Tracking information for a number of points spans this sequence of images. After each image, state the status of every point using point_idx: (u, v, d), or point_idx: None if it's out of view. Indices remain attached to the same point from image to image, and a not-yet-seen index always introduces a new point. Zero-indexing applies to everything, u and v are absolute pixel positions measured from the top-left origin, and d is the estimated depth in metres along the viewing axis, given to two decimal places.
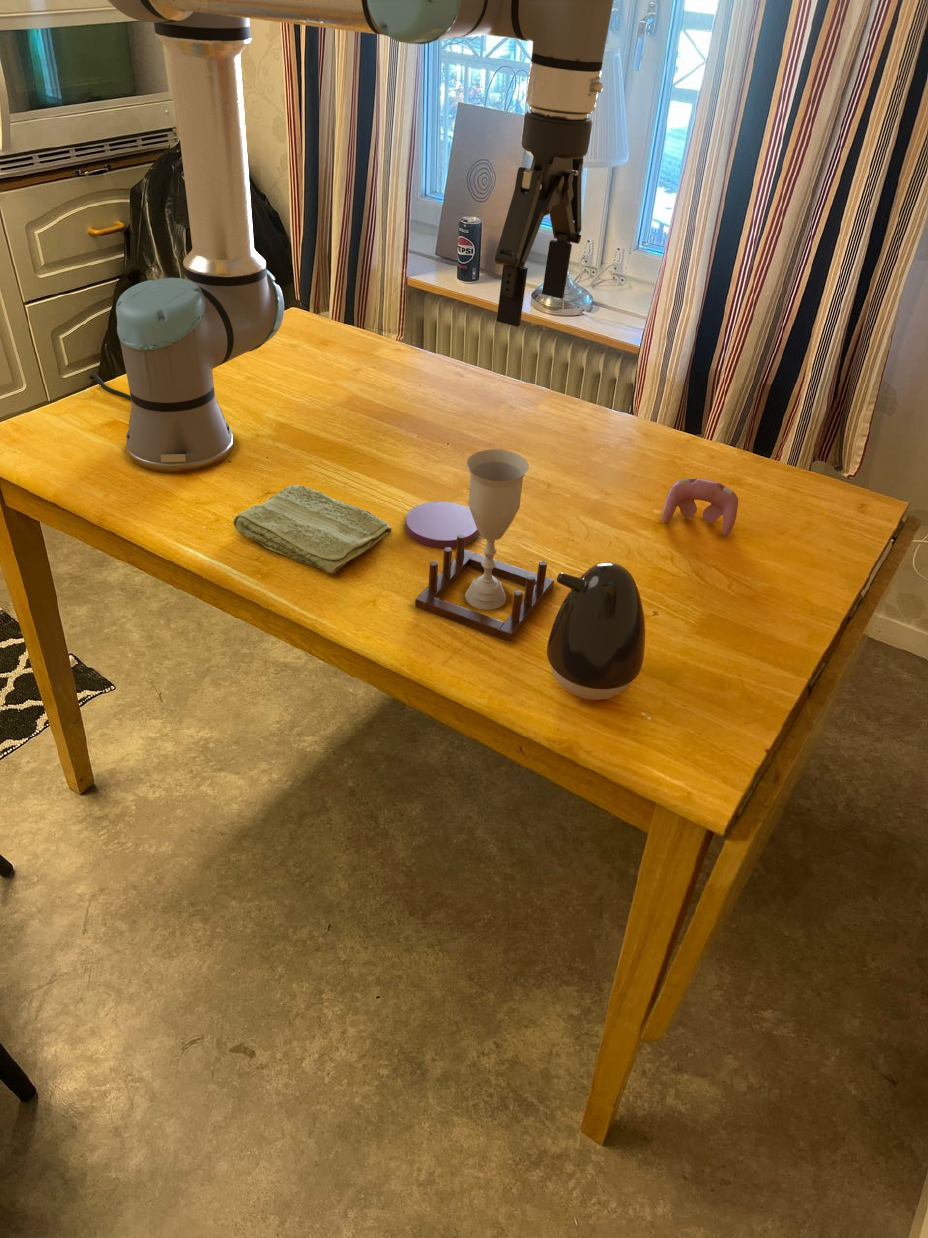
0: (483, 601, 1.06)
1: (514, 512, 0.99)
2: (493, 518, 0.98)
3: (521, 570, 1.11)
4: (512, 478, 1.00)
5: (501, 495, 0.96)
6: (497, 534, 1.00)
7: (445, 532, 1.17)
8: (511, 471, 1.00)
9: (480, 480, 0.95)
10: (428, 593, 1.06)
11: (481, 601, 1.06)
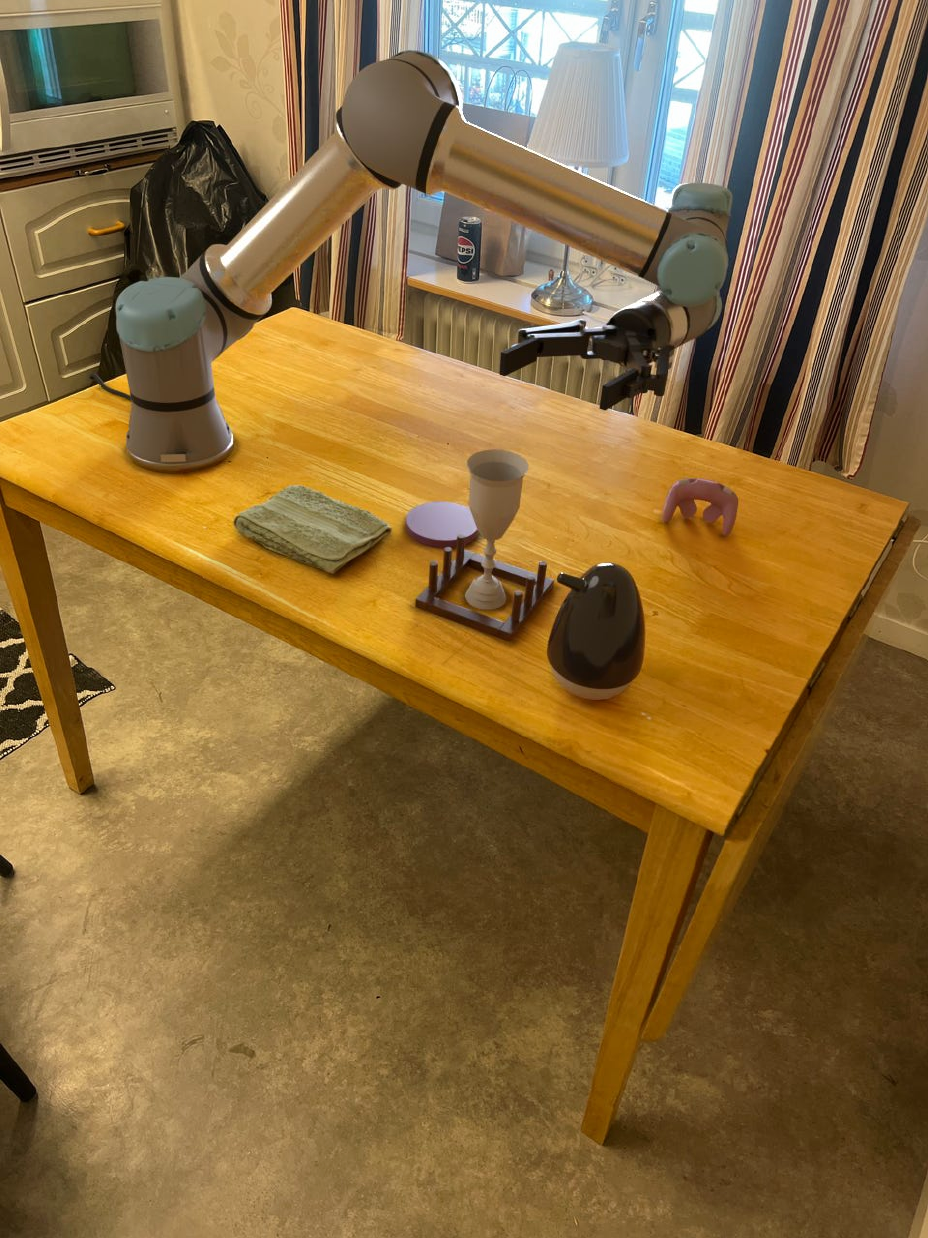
0: (483, 601, 1.06)
1: (514, 512, 0.99)
2: (493, 518, 0.98)
3: (521, 570, 1.11)
4: (512, 478, 1.00)
5: (501, 495, 0.96)
6: (497, 534, 1.00)
7: (445, 532, 1.17)
8: (511, 470, 1.00)
9: (480, 480, 0.95)
10: (428, 593, 1.06)
11: (481, 601, 1.06)
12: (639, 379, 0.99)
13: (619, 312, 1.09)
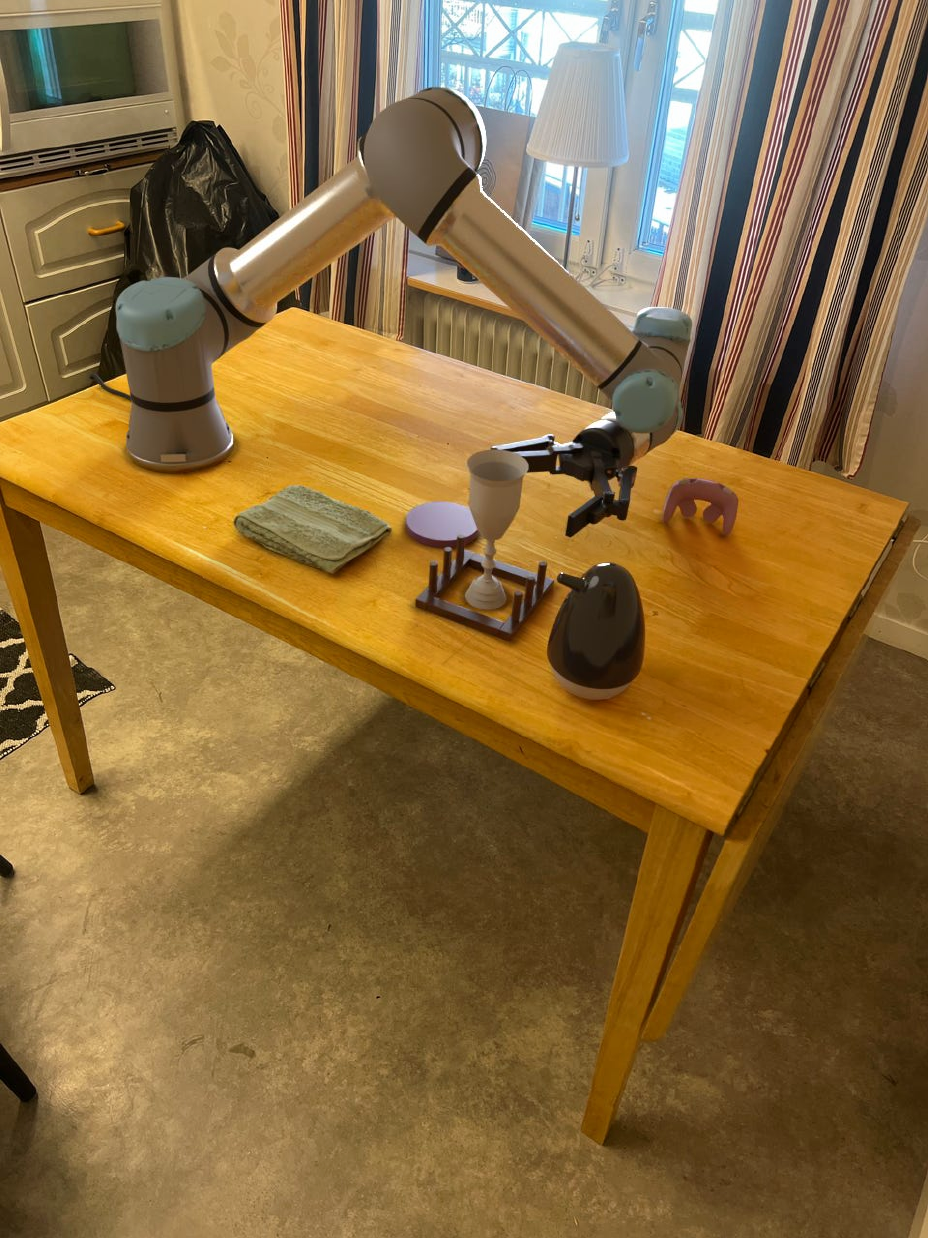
0: (483, 601, 1.06)
1: (514, 512, 0.99)
2: (493, 518, 0.98)
3: (521, 570, 1.11)
4: (512, 478, 1.00)
5: (501, 495, 0.96)
6: (497, 534, 1.00)
7: (445, 532, 1.17)
8: (511, 471, 1.00)
9: (480, 480, 0.95)
10: (428, 593, 1.06)
11: (481, 601, 1.06)
12: (603, 506, 1.05)
13: (585, 430, 1.16)
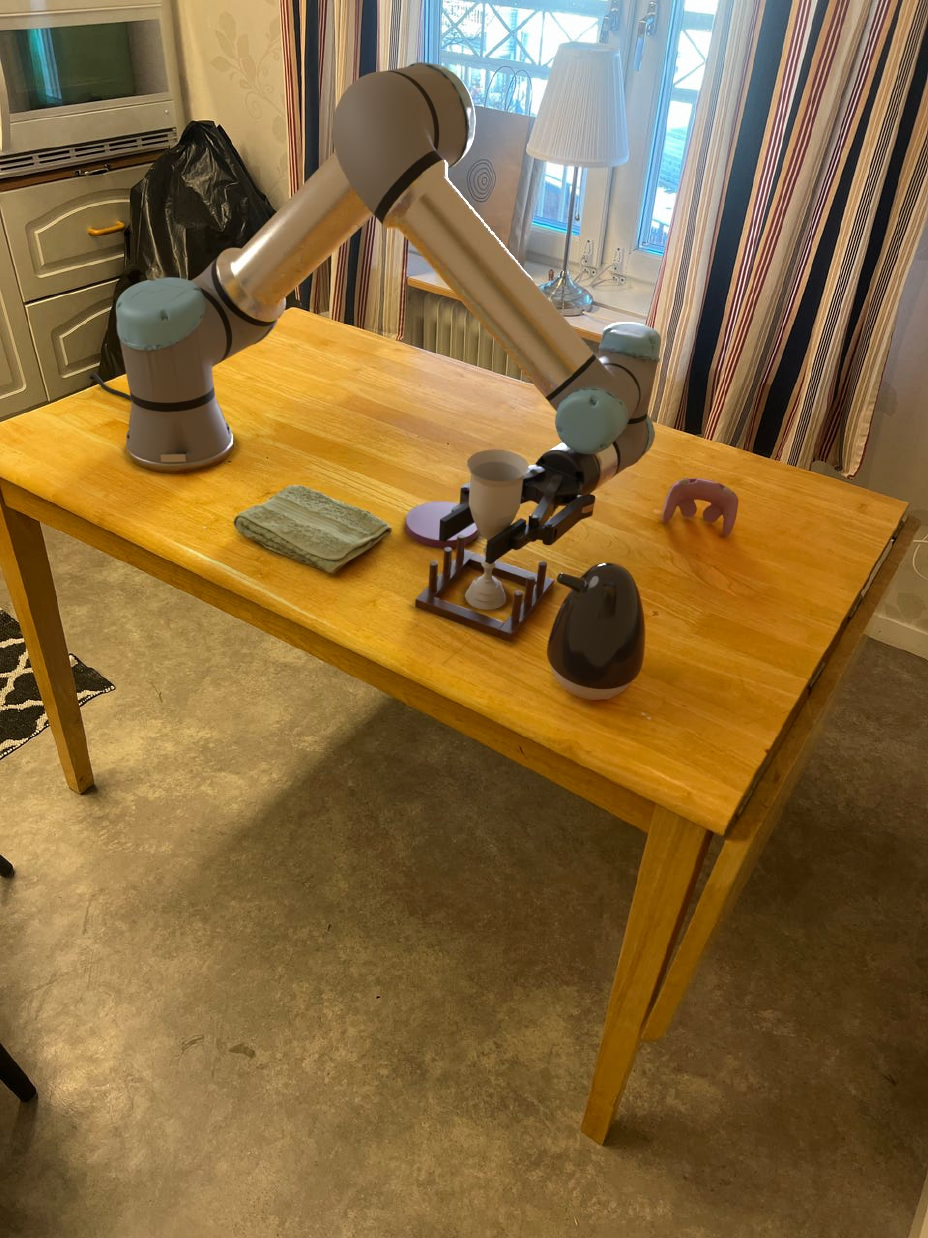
0: (483, 601, 1.06)
1: (514, 512, 0.99)
2: (493, 519, 0.98)
3: (521, 570, 1.11)
4: (512, 478, 1.00)
5: (501, 495, 0.96)
6: None
7: None
8: (512, 471, 1.00)
9: (480, 480, 0.95)
10: (428, 593, 1.06)
11: (482, 601, 1.06)
12: (526, 530, 1.00)
13: (548, 453, 1.10)
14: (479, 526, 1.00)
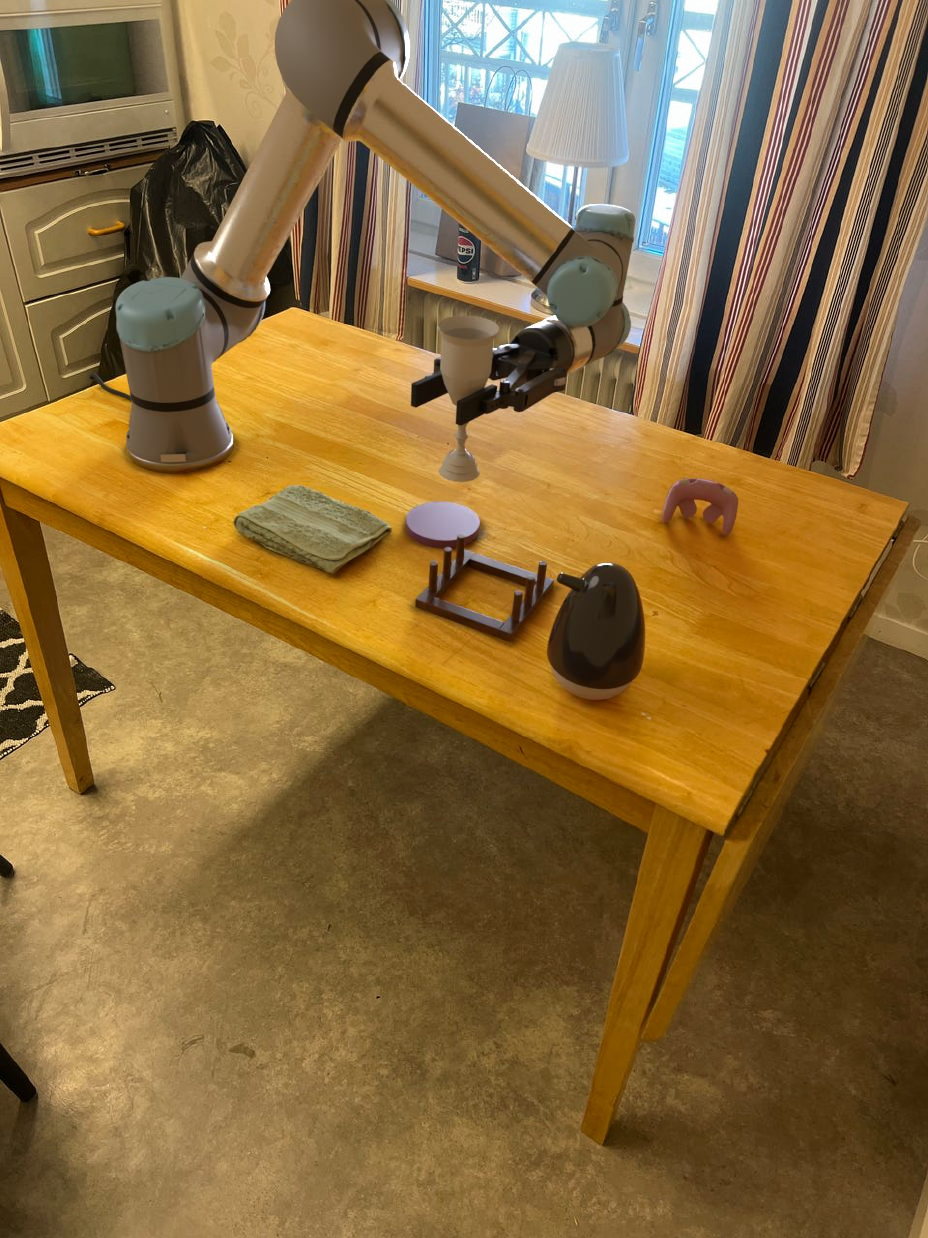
0: (456, 474, 1.07)
1: (485, 376, 0.99)
2: (464, 381, 0.99)
3: (521, 570, 1.11)
4: None
5: (471, 355, 0.97)
6: None
7: (445, 532, 1.17)
8: (483, 337, 1.01)
9: (450, 339, 0.96)
10: (428, 593, 1.06)
11: (454, 473, 1.07)
12: (497, 395, 1.01)
13: (523, 331, 1.11)
14: (450, 391, 1.01)
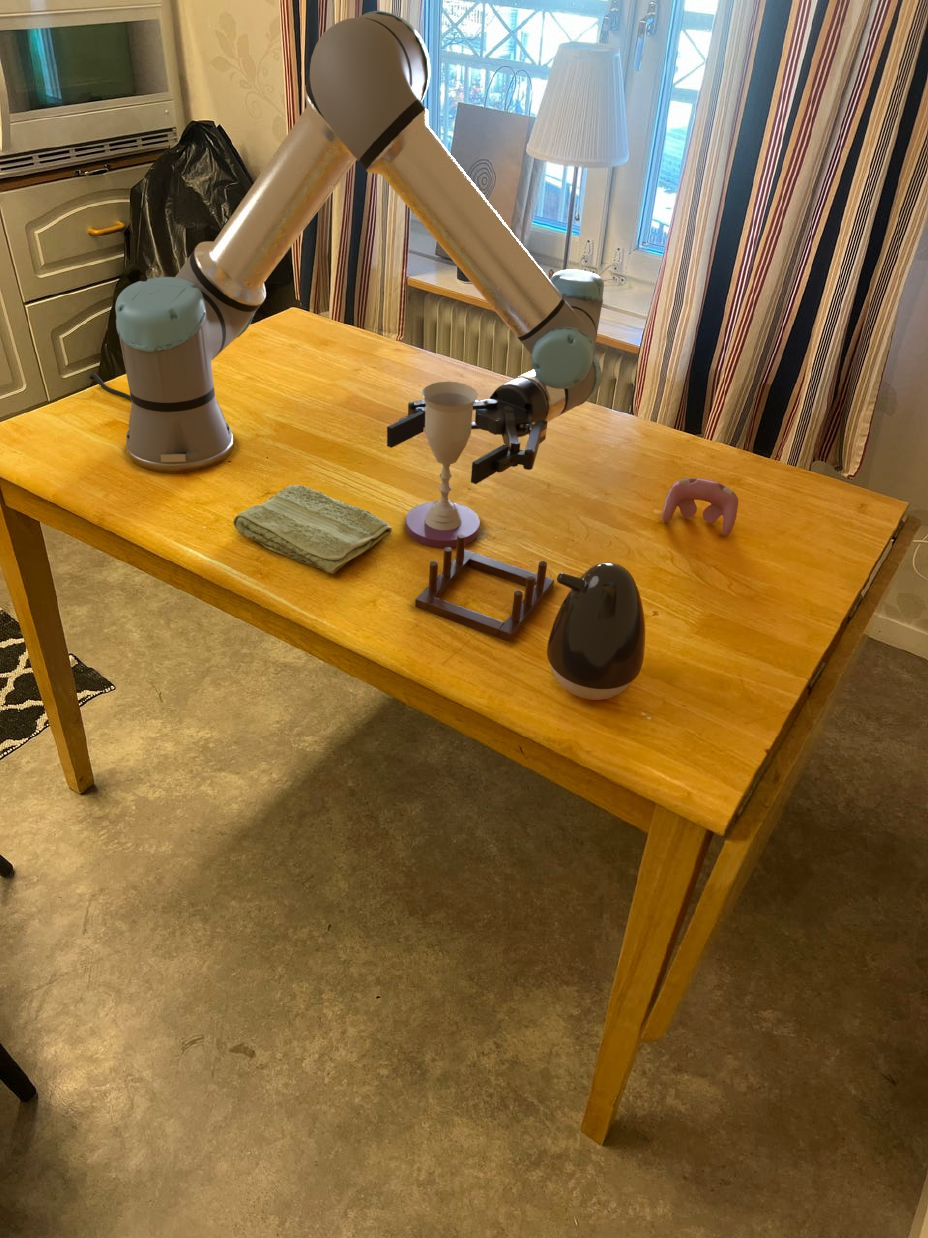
0: (440, 523, 1.17)
1: (465, 437, 1.10)
2: (446, 442, 1.09)
3: (521, 570, 1.11)
4: None
5: (452, 419, 1.07)
6: (451, 458, 1.12)
7: (445, 532, 1.17)
8: (464, 401, 1.11)
9: (433, 406, 1.06)
10: (428, 593, 1.06)
11: (439, 522, 1.17)
12: (508, 455, 1.10)
13: (501, 387, 1.21)
14: (434, 450, 1.11)
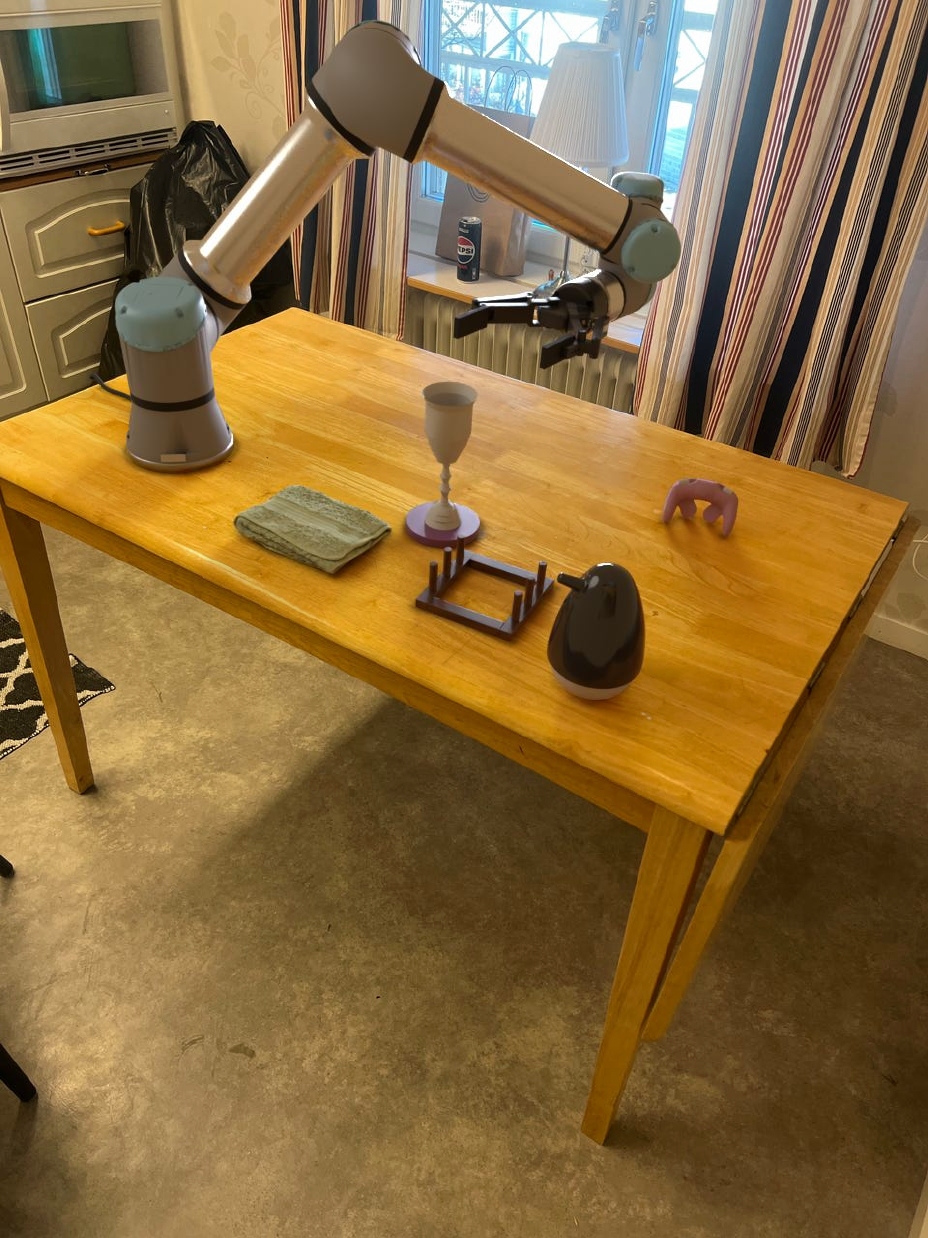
0: (440, 523, 1.17)
1: (465, 437, 1.10)
2: (446, 442, 1.09)
3: (521, 570, 1.11)
4: None
5: (452, 419, 1.07)
6: (451, 458, 1.12)
7: (445, 532, 1.17)
8: (464, 401, 1.11)
9: (433, 406, 1.06)
10: (428, 593, 1.06)
11: (439, 522, 1.17)
12: (575, 343, 1.12)
13: (562, 286, 1.23)
14: (434, 450, 1.11)
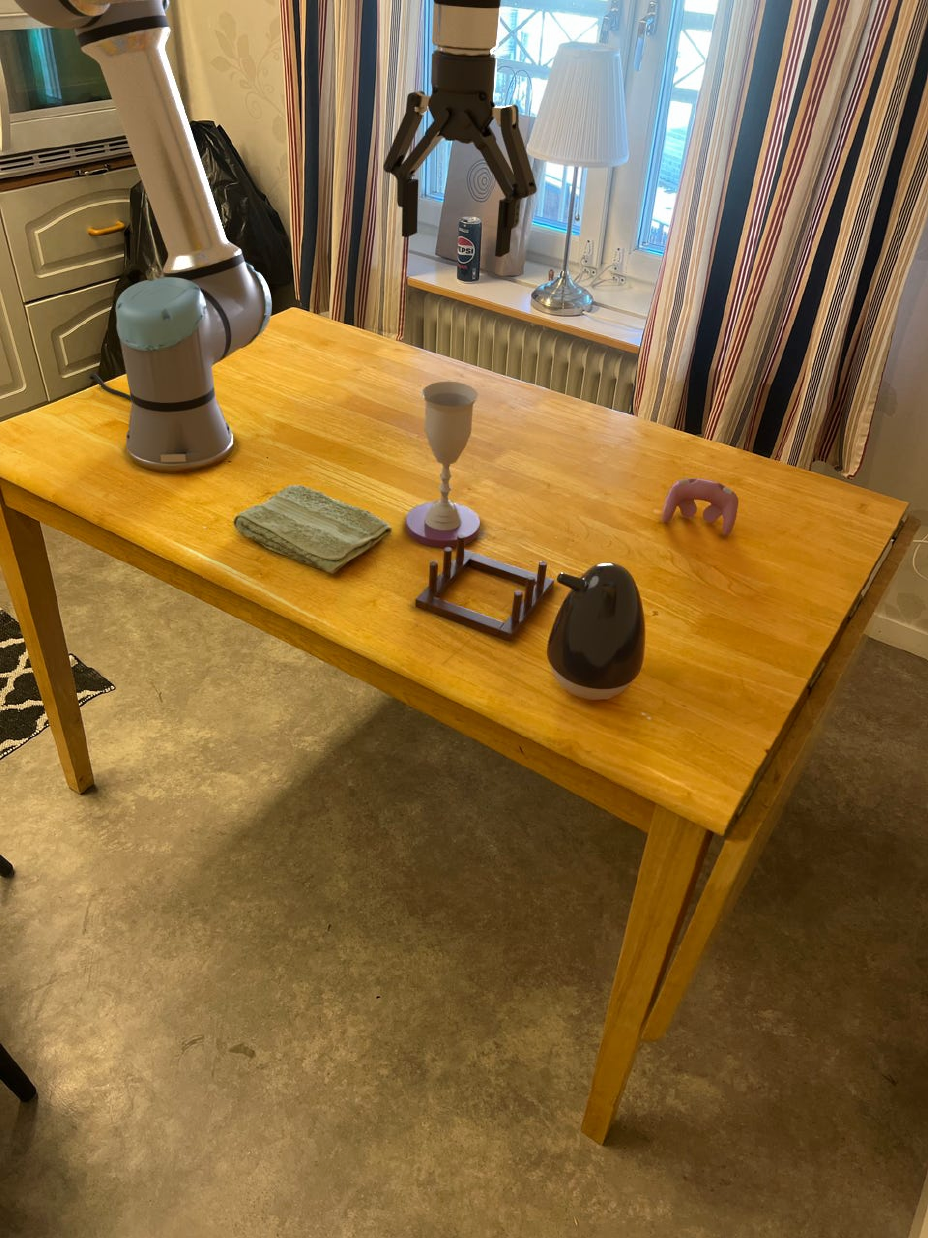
0: (440, 523, 1.17)
1: (465, 437, 1.10)
2: (446, 442, 1.09)
3: (521, 570, 1.11)
4: None
5: (452, 419, 1.07)
6: (451, 458, 1.12)
7: (445, 532, 1.17)
8: (464, 401, 1.11)
9: (433, 406, 1.06)
10: (428, 593, 1.06)
11: (439, 522, 1.17)
12: (511, 208, 1.08)
13: (436, 88, 1.03)
14: (434, 450, 1.11)
